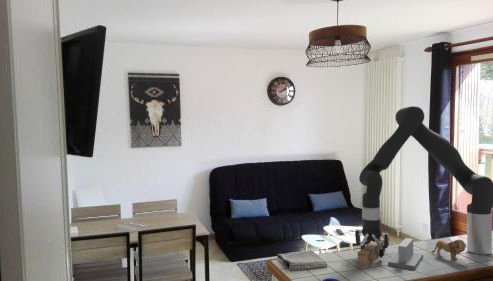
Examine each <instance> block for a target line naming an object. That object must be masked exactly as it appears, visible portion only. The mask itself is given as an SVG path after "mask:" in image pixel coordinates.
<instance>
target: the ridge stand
mask: <svg viewBox="0 0 493 281" xmlns="http://www.w3.org/2000/svg"><path fill="white" fill-rule="evenodd" d="M397 246H398V249H397V251H396V252H395V253H394V255H393V256H392V257H391V258H390V260H388V266H391V267H396V268H400V269H407V270H414V271H415V270H416V269H417V267H418V266H419V265H420V263H421V262H422V260H423V259H424V254H423V253H420V252H419V253H417V252H414V238H408V237H405V238H404V239H403V240H402V241H401V242H400V243H399V244H398V245H397Z"/></svg>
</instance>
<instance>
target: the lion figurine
mask: <svg viewBox="0 0 493 281" xmlns="http://www.w3.org/2000/svg"><path fill="white" fill-rule="evenodd" d="M466 248H467V243H466V244H465V241H464V240H463V239H456V240H453V241H450V242H446V241H444V240H442V239H439V240H438V241H437V242H436V245H435V248H434V250H431V254H432V253H435V252H436V253H437V257H438V258H442V255H441V251H442V250H443V251H444V252H447V253H449V254H450V261H451V262H456V261H457V260H458V258H457V255H460V254H461V253H463V252H464V251H465V250H466ZM436 250H437V251H436Z"/></svg>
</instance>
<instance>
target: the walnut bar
mask: <svg viewBox="0 0 493 281" xmlns="http://www.w3.org/2000/svg"><path fill="white" fill-rule="evenodd" d="M380 239H381V240H382V243H383V245H384V238H383V237H380ZM379 249H380V248H379V246H378V245H377V243H376V242H373V241H370V242H369V243H368V244H367V245H365V247H364V248H363V249H362V250H361V249H360V250H359V251H358V252H357V267H358V268H363V269H368V268H369V267H370V265H372V264H373V263H374V262H375V261H376V260H377V259H378V258H380V257H379V256H380V253H379ZM385 252H386V248H384V253H385Z"/></svg>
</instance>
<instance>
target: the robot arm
mask: <svg viewBox="0 0 493 281" xmlns="http://www.w3.org/2000/svg"><path fill="white" fill-rule="evenodd" d="M424 121H425V112H424V111H423V109H422V107H419V106H415V105H410V106H406V107H402V108H400V109H399V110H397V111H396V113H395V122H396V124H397V125H398V127H397V128H396V129H395V131H394V132H393V133H392V135H391V136H390V137H388V138H387V140H386V141H385V142H384V143H382V145H381V147H379V149H378V151H377V152H376V154H375V156H374V157H373V159H372V160H371V161H370V162H368V164H367V165H366V166H365V167H364V168H363V169H362V170H361V172H360V173H359V183H360V184H361V185H363V186H365V187H366V191H365V192H364V193H362V198H361V199H362V201H361V202H362V209H361V217H362V218H361V220H362V221H361V222H362V223H361V224H362V225H361V227H362V228H361V229H358V228H357V229H355V231H354V232H355V234H354V237H355V244H356V245H358V246H359V245H360V250H362V249H363V248H364V247H365V246H366V245H365V244H366V243H367V242H372V241H373V242H376V243H377V245H378V246H379V248H380V249H379V253H380V257H379V258H383V257H384V256H385V252H384V248H385V249H387V248H388V247H389V245H390V233H389V232H386V233H385V232H383V231H382V215H381V214H382V213H381V202H380V201H381V200H380V196H381V193H382V188H383V178H382V175H381V173H382V171H386V170H387V169H388V168H389V167H390V165H391V163H393V161H394V159H395V158H396V156H397V154H398V153H399V151H400V150H401V149H402V147H403V146H404V145H405V143H406V142H407V140H409V138H410V137H412V138H413V139H414V140H415V141H417V143H418V144H419V145H420V146H421V147H423V149H424V150H425V152H427V153H428V154H429V155H430V156H431V157H432V158H433V159H434V160H435V161H436V162H437V163H438V164H440V166H442V168H444V170H446V171H447V172H448V173H449V174H450V175H452V176H453V178H454V179H455V180H456V182H458V184H459V185H460V186H461V187H462V188H463V190H464V191H465V192H466V193H467V194H469V195H471V202H470V203H468V204H467V205H466V233H467V234H466V250H467V252H469V253H472V254H474V255H475V254H476V255H491V254H493V234H492V233H493V232H492V230H493V228H492V227H493V225H492V223H493V222H492V220H493V219H492V217H493V216H492V213H493V212H492V211H493V180H492V179H491V178H490V177H488V176H485V175H481V174H477V173H476V172H475V171H473V170H472V169H471V168H470V167H469V166H468V165H467V164H466V163H465V161H464V160H463V158H462V156H461V154H460V151H458V149H457V148H456V147H455V146H454V145H453V144H452V143H451V142H450V141H449V140H448V139H446V138H445V137H444V136H442V135H441V134H439V133H438V132H435V131H433V130H432V129H430V128H429V127H427V126H426V125H425V124H424ZM361 235H362V236H363V239H362V241H361ZM380 238H384V245H383V243H382V240H381V239H380Z"/></svg>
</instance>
